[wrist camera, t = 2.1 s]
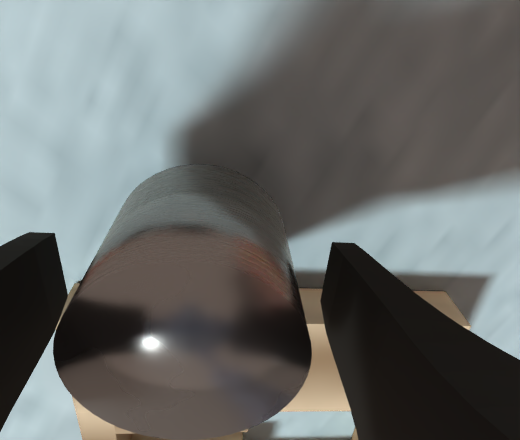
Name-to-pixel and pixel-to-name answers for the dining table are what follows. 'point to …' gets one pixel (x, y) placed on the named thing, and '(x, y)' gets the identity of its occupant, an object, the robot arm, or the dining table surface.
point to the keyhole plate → (314, 388)
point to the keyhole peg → (188, 311)
